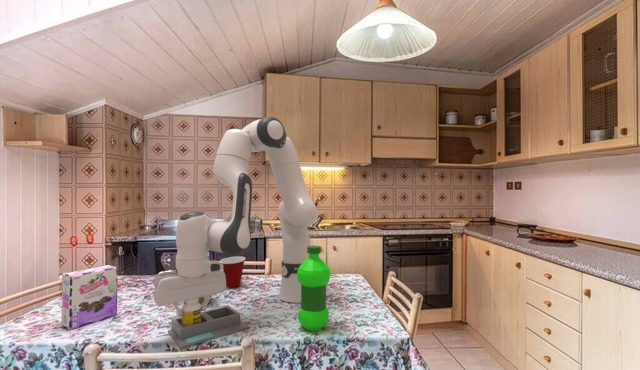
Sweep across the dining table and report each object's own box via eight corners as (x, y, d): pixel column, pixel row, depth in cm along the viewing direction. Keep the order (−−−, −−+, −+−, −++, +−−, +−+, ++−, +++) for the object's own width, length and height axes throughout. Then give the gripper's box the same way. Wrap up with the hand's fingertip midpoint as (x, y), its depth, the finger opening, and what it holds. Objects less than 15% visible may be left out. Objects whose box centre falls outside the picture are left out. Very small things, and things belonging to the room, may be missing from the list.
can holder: (231, 315, 111) (231, 304, 111) (248, 328, 101) (248, 316, 101) (167, 332, 98) (167, 320, 98) (180, 348, 88) (180, 335, 88)
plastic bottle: (330, 320, 107) (330, 244, 107) (329, 335, 96) (329, 250, 96) (299, 319, 107) (300, 243, 107) (295, 334, 97) (295, 249, 97)
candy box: (69, 330, 99) (69, 276, 98) (61, 326, 102) (61, 273, 102) (117, 315, 110) (118, 266, 110) (108, 311, 113) (109, 264, 113)
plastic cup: (217, 284, 145) (218, 257, 145) (242, 281, 149) (242, 255, 149) (221, 291, 135) (221, 262, 135) (247, 288, 140) (248, 260, 140)
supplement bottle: (194, 334, 95) (194, 301, 95) (177, 333, 96) (177, 299, 96) (204, 326, 100) (204, 294, 100) (188, 325, 101) (188, 293, 101)
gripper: (156, 275, 89) (156, 326, 89) (228, 263, 102) (228, 308, 102) (151, 270, 94) (150, 318, 94) (220, 260, 107) (220, 302, 107)
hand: (191, 313), depth 98 cm, fingers closed on supplement bottle, 5 cm apart
